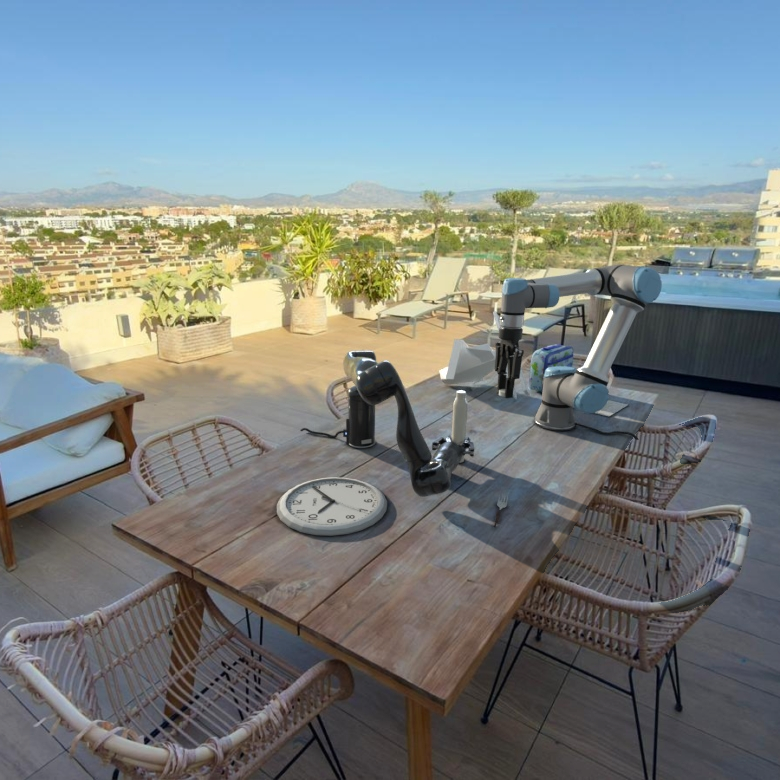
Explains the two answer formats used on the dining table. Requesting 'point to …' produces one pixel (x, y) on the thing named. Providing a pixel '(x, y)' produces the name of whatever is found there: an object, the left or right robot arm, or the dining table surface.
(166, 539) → the dining table surface
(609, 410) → the invitation card
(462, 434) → the bottle
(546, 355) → the lunch box
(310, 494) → the wall clock
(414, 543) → the dining table surface
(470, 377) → the white plastic object
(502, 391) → the cap
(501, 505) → the fork
